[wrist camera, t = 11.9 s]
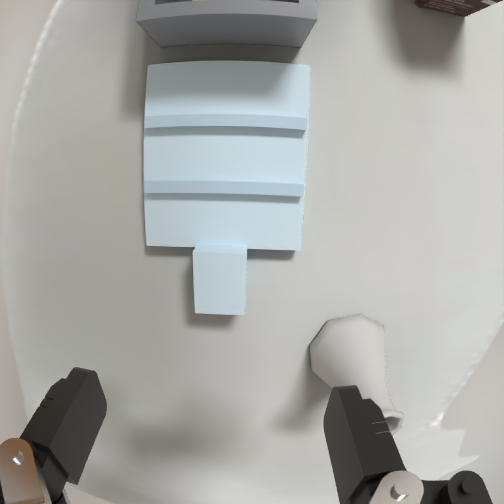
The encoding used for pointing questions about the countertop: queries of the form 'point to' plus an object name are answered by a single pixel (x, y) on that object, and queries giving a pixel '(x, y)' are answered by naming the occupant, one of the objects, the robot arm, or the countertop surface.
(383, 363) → the flask
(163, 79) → the lid
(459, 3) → the box
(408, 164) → the countertop surface
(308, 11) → the tub
